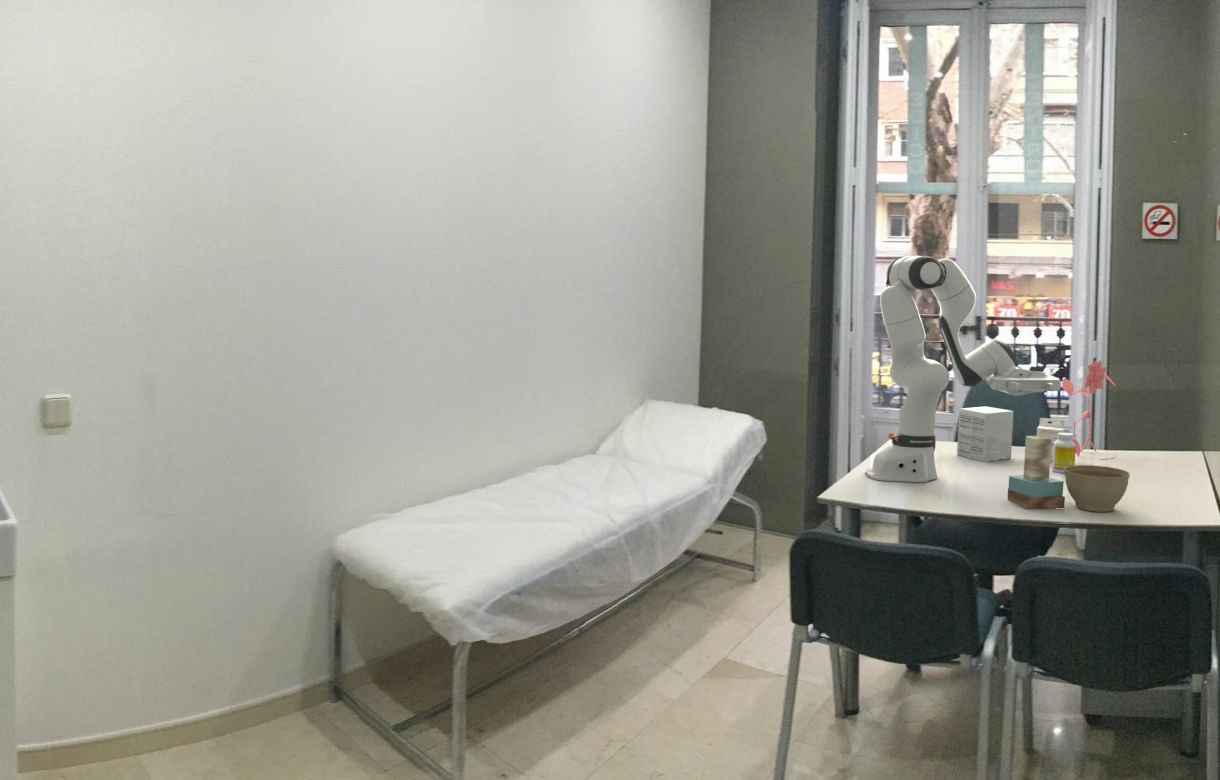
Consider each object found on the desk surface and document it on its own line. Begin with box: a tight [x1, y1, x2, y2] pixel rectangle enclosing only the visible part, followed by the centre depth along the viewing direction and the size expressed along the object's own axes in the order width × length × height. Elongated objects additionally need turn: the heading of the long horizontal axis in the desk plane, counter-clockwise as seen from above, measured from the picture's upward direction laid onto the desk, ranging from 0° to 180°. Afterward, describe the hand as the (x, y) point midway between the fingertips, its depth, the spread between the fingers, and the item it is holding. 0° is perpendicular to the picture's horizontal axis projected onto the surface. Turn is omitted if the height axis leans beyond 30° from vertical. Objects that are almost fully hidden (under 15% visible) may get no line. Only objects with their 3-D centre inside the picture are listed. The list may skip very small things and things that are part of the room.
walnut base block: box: [1007, 489, 1066, 511], centre depth 256 cm, size 11×11×4 cm
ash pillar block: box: [1023, 435, 1052, 481], centre depth 254 cm, size 5×5×12 cm
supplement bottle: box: [1051, 432, 1076, 474], centre depth 298 cm, size 7×7×13 cm
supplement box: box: [956, 405, 1014, 462], centre depth 322 cm, size 13×13×18 cm
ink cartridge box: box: [1036, 417, 1065, 462], centre depth 316 cm, size 9×5×15 cm, turn 58°
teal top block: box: [1007, 474, 1065, 498], centre depth 255 cm, size 10×10×4 cm
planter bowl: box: [1064, 464, 1131, 513], centre depth 251 cm, size 16×16×11 cm
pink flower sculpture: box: [1061, 359, 1117, 461], centre depth 322 cm, size 15×26×35 cm, turn 121°
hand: (1035, 386), depth 270 cm, fingers open, 8 cm apart
